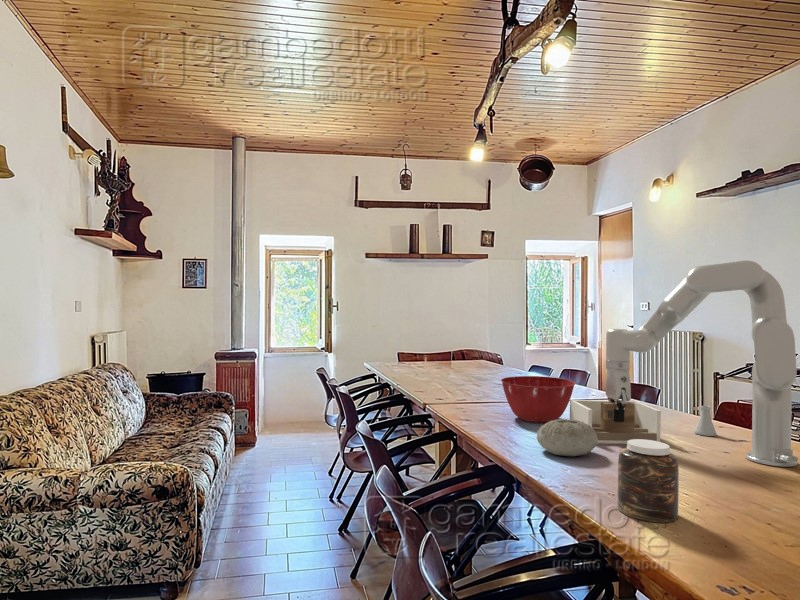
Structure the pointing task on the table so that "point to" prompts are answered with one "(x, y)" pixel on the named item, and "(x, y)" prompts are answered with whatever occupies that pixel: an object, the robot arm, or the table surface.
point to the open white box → (643, 429)
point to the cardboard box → (608, 417)
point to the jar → (648, 481)
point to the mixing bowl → (537, 397)
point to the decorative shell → (567, 437)
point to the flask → (705, 423)
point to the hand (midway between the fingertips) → (616, 419)
